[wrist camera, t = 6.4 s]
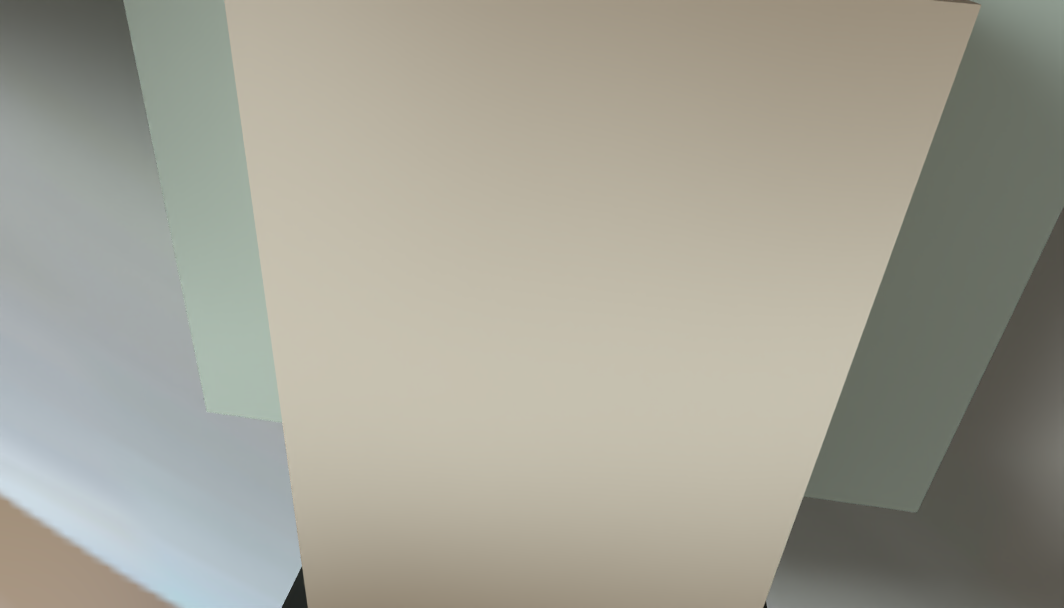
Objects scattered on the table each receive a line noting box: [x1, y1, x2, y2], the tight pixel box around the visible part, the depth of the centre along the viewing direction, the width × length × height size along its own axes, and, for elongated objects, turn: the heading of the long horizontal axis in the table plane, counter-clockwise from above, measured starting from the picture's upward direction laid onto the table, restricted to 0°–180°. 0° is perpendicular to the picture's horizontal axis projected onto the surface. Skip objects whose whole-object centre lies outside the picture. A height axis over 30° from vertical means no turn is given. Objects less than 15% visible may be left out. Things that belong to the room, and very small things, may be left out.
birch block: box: [224, 0, 981, 608], centre depth 9 cm, size 12×4×5 cm, turn 176°
